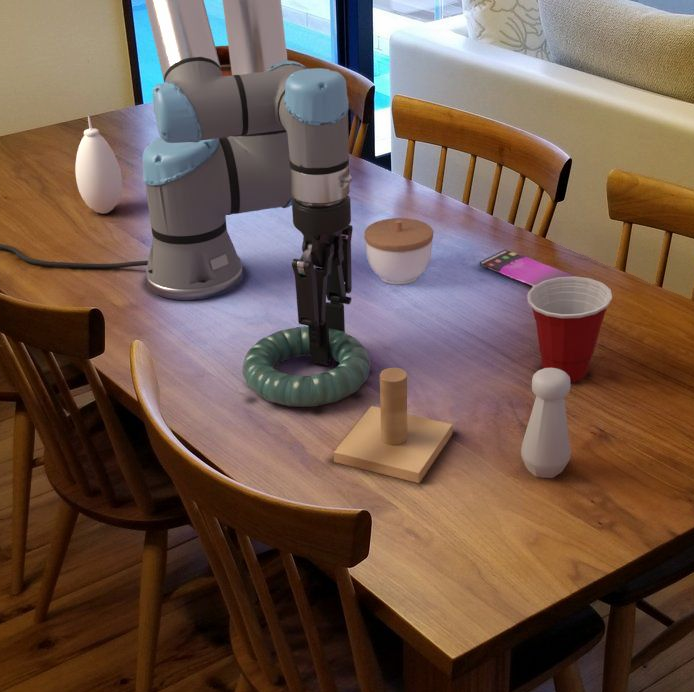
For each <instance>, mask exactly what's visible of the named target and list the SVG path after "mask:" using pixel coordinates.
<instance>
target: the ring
mask: <svg viewBox="0 0 694 692" xmlns="http://www.w3.org/2000/svg"><path fill="white" fill-rule="evenodd" d="M329 347H330V359H332V360H333V361H336V362H338V363H339V364H338V365H337V366H336V367H334V368H332V369H330V370H328V371H325V372H320V373H317V374H312V375H293V374H289V373H284V372H281V371H279V370H277V369H275V368H274V367H275V366H277V364H279V363H281V362H284V361H285V360H288V359H292V358H298V357H302V356H310V348H309V330H308V326H296V327H292V328H291V327H290V328H286V329H281V330H278V331H275V332H273V333H271V334H269V335H266V336H264V337H262V338H261V339H259V340H257V342H256V343H255V344H254V345H253V346H251V347H250V348H249V349H248V351H246V353H245V355H244V361H243V364H242V369H241V370H242V372H241V373H242V376H243V378H244V380H245V382H246V384H247V385H248V387H249V389H250V390H251V391H252V392H253V393H255V395H258V396H259V397H261V398H262V399H264V400H266V401H267V402H270V403H274V404H278V405H282V406H285V407H292V408H294V407H297V408H298V407H301V408H302V407H304V408H305V407H306V408H307V407H308V408H310V407H311V408H312V407H319V406H323V405H328V404H332V403H336V402H339V401H340V400H342V399H345V398H348V397H349V396H351V395H352V394H355V393H356V392H357V391H358V390H359V389H360V388H361V386H362V385H364V383H365V382H366V381H367V379H368V378H369V376H370V371H371V370H370V369H371V355H370V353H369V351H368V350H367V349H366V348H365V346H364V345H363V343H362V342H361V341H360V340H359V339H358V338H356V337H354V336H353V335H350V334H349V333H346V331H345V332H343V331H340V330H335V329H330V328H329Z"/></svg>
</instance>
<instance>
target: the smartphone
mask: <svg viewBox="0 0 694 692" xmlns="http://www.w3.org/2000/svg"><path fill="white" fill-rule="evenodd" d="M478 263H479V266H480V267H483V268H485V269H488V270H490V271H492V272H495V273H497V274H500V275H502V276H505V277H507V278H510V279H512V280H515V281H517V282H519V283H522V284H525V285H528V286H530V287H533V286H535V285H537V284H539V283H541V282H543V281H545V280H549V279H554V278H558V277H574V276H575V277H578V275H575V274H572V273H569V272H566V271H564V270H561V269H559V268H556V267H553V266H551V265H548V264H546V263H543V262H540V261H537V260H534V259H532V258H529V257H527V256H525V255H522V254H519V253H517V252H514V251H511V250H509V249H503V250H501V251H499V252H497V253H495V254H493V255H491V256H489V257H487V258H485V259H483V260H480V261H479V262H478Z"/></svg>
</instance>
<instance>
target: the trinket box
mask: <svg viewBox="0 0 694 692" xmlns="http://www.w3.org/2000/svg"><path fill="white" fill-rule="evenodd" d="M433 238H434V230H433V228H432V227H431V226H430V225H429V224H428V223H426V222H424V221H423V220H422V221H421V220H418V219H415V218H407V217H406V218H405V217H393V218H386V219H385V218H384V219H380V220H378V221H375V222H373V223H371V224H369V225H368V226H367V227H366V228H365V230H364V243H365V254H366V258H367V262H368V264H369V266H370V268H371V269H372V271H373V272H374V274H376V275H377V276H378V277H379V278H380V280H381V281H382V282H384V283H386V284H390V285H398V286H399V285H408V284H411V283H413V282H416V281H417V280H418V278H419V276H421V275H422V274H423V273H424V272H425V271H426V269H427V268H428V265H429V263H430V261H431V258H432V252H433V251H432V250H433Z"/></svg>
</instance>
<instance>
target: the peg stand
mask: <svg viewBox="0 0 694 692" xmlns="http://www.w3.org/2000/svg"><path fill="white" fill-rule="evenodd" d="M379 405H380V407H378V406H373V405H371V406H370V407H369V408H368V409H367V411H366V412H365V413H364V414H363V415H362V417H360V419H359V420H358V422H357V423H356V424H355V425H354V427H353V428H352V429H351V430H350V431H349V433H348V434H347V435H346V436H345V437H344V439H343V440H342V441H341V442H340V444H339V445H338V446H337V448H336V449H335V450H334V451H333V462H334V463H336V464H341V465H344V466H348V467H352V468H355V469H356V468H357V469H361V470H364V471H369V472H373V473H376V474H381V475H385V476H388V477H393V478H396V479H401V480H404V481H408V482H412V483H416V484H420V483H421V481H422V480H423V478H424V477H425V476H426V474H427V472H428V471H429V469H430V468H431V466H432V465H433V464H434V462H435V460H436V459H437V457H439V455H440V453H441V452H442V450H443V449H444V447H445V446H446V445H447V443H448V441H449V440H450V439H451V437H452V435H453V426H454V425H453V424H452V423H449V422H444V421H440V420H435V419H431V418H426V417H424V416H417V415H413V414H408V373H407V371H406V370H404V369H402V368H400V367H388V368H385V369H383V370H381V372H379Z"/></svg>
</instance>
